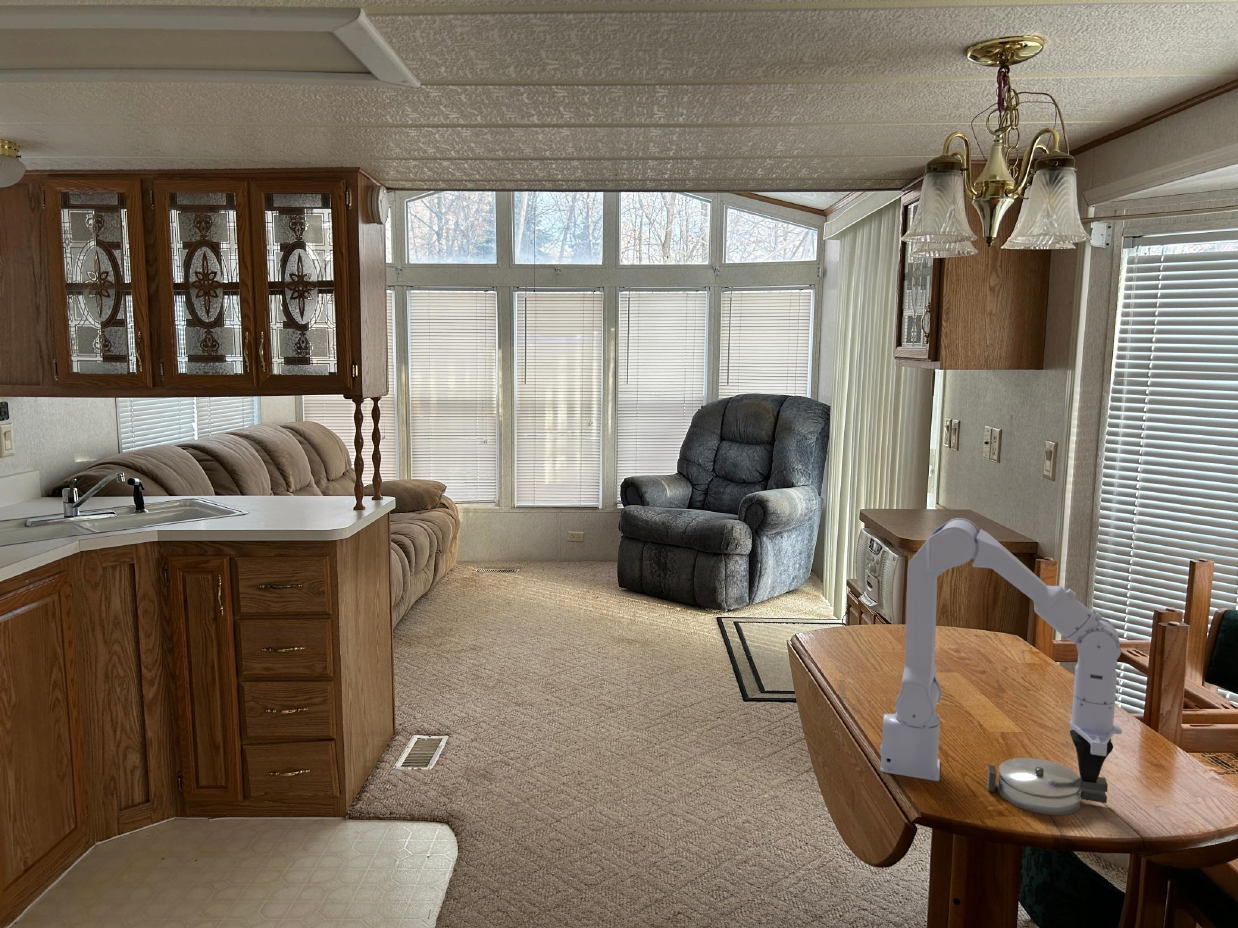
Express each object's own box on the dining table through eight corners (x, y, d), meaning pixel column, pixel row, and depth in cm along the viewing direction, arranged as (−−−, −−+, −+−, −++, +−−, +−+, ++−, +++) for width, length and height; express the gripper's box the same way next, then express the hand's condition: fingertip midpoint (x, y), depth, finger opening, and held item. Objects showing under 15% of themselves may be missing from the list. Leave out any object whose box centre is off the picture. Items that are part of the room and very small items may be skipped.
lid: (1000, 790, 135) (1001, 779, 135) (996, 757, 146) (997, 747, 146) (1112, 806, 129) (1113, 795, 129) (1099, 771, 140) (1100, 760, 140)
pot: (989, 804, 136) (990, 785, 135) (986, 770, 147) (987, 753, 146) (1111, 825, 130) (1112, 805, 129) (1098, 788, 141) (1099, 770, 140)
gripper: (1132, 719, 126) (1125, 806, 128) (1114, 684, 139) (1108, 763, 141) (1078, 712, 128) (1072, 797, 130) (1066, 678, 142) (1061, 756, 143)
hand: (1088, 779), depth 136 cm, fingers closed, pressing on lid
